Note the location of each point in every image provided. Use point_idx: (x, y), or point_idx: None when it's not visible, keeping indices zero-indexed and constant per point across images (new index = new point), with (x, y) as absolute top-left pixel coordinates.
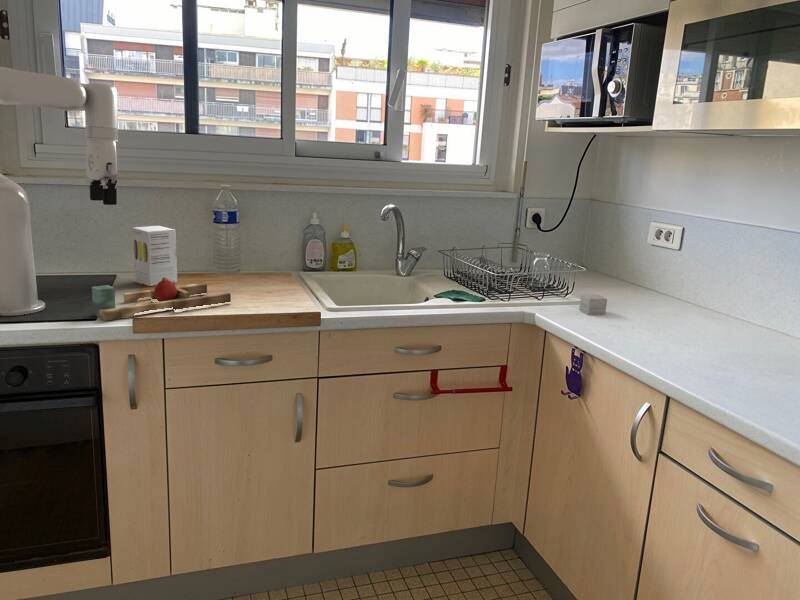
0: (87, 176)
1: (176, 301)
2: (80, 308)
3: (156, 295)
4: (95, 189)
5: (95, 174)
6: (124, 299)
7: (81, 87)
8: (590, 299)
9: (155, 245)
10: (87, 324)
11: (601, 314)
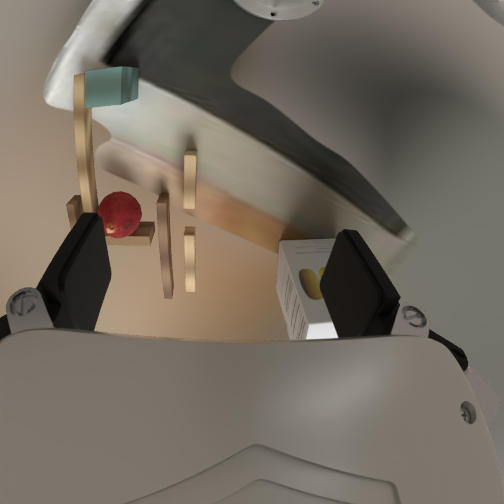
0: (393, 338)
1: (68, 207)
2: (204, 63)
3: (113, 193)
4: (356, 300)
5: (43, 382)
6: (193, 152)
7: None
8: None
9: (296, 310)
10: (87, 44)
11: None
